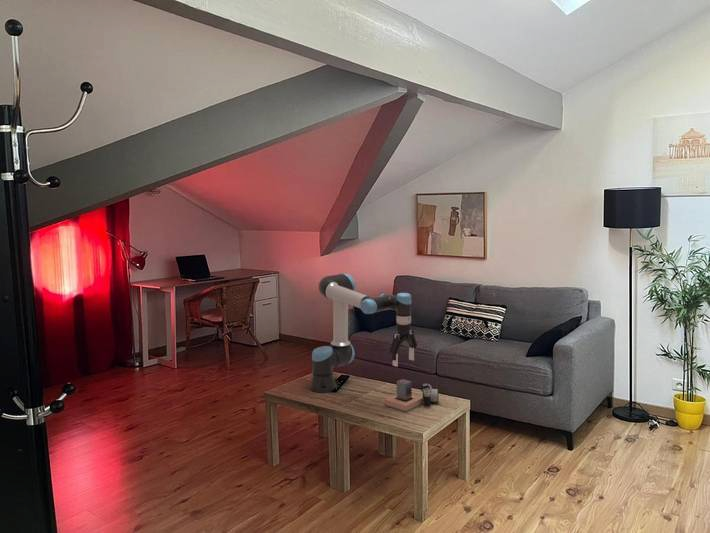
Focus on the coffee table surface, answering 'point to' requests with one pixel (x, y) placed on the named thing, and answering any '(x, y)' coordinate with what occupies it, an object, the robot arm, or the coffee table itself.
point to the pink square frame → (403, 403)
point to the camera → (429, 395)
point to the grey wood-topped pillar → (404, 390)
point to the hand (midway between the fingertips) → (403, 362)
